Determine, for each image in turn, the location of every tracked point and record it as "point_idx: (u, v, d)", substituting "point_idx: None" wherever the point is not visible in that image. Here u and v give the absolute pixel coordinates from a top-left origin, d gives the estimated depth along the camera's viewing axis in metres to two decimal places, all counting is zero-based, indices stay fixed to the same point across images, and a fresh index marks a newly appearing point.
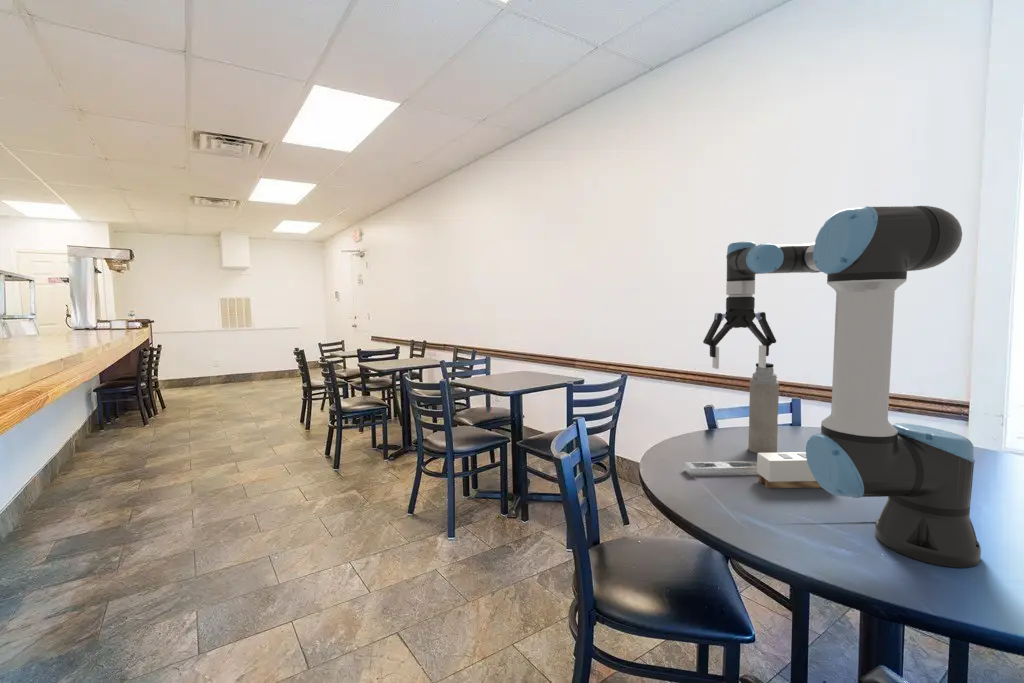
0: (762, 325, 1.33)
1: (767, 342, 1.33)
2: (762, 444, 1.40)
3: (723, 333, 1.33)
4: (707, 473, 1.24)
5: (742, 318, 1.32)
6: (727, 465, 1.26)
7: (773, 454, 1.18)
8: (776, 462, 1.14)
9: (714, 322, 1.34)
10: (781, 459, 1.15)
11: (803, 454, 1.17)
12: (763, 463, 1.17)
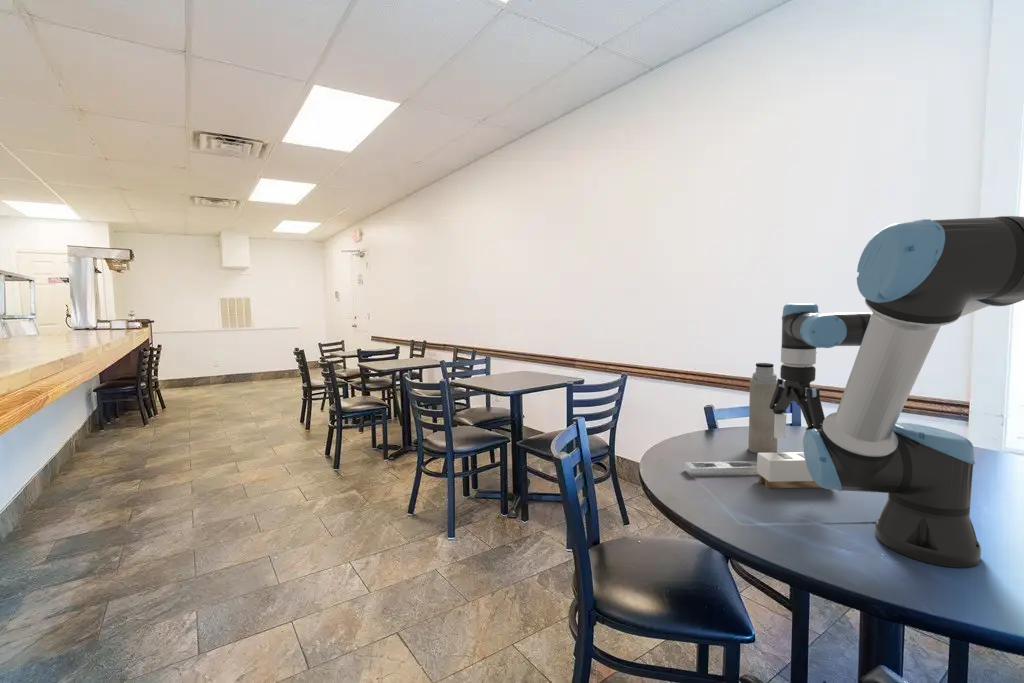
0: None
1: (809, 426, 1.08)
2: (762, 444, 1.40)
3: (780, 401, 1.21)
4: (707, 473, 1.24)
5: None
6: (727, 465, 1.26)
7: (773, 454, 1.18)
8: (776, 462, 1.14)
9: None
10: (781, 459, 1.15)
11: (803, 454, 1.17)
12: (763, 463, 1.17)
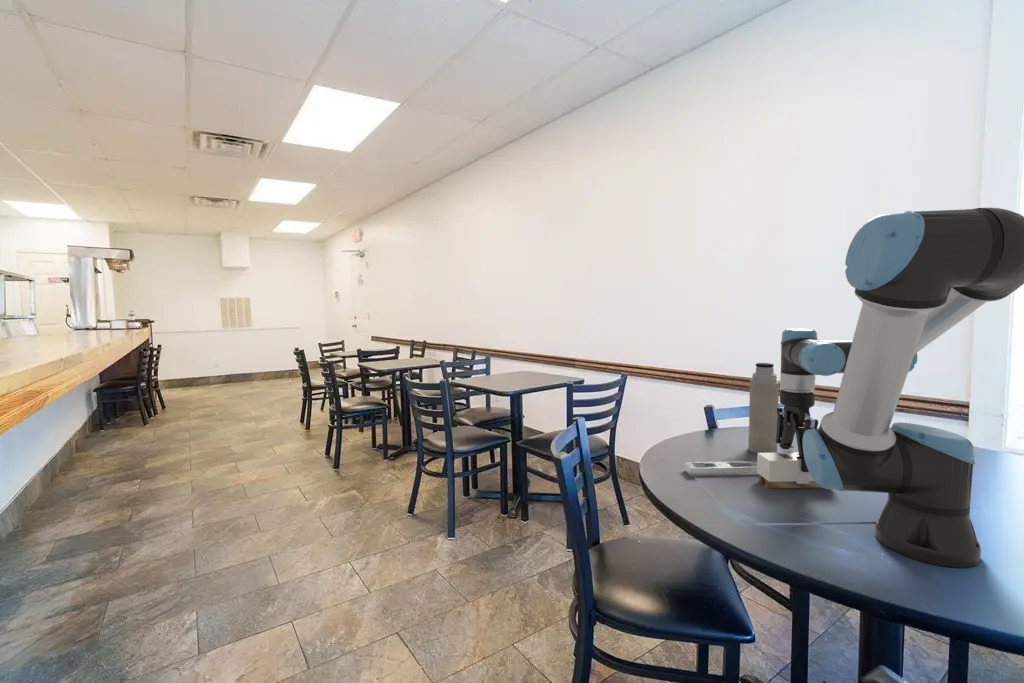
0: None
1: (800, 455, 1.12)
2: (762, 444, 1.40)
3: (783, 432, 1.19)
4: (707, 473, 1.24)
5: (792, 413, 1.15)
6: (727, 465, 1.26)
7: (773, 454, 1.18)
8: (776, 462, 1.14)
9: None
10: (781, 459, 1.15)
11: None
12: (763, 463, 1.17)
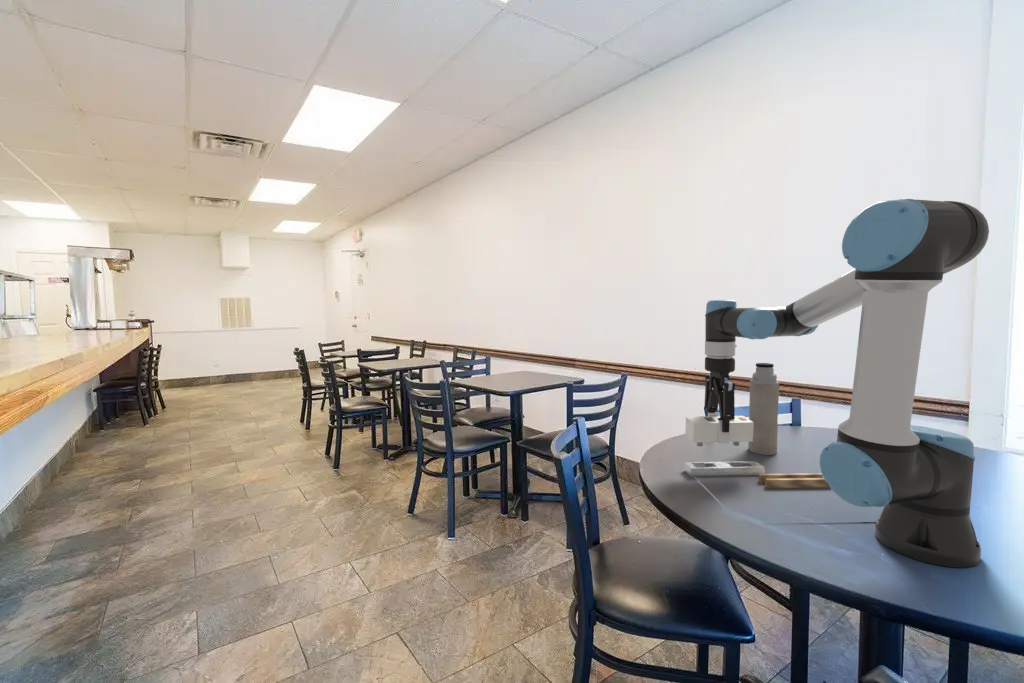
0: None
1: (721, 416, 1.21)
2: (762, 444, 1.40)
3: (709, 397, 1.28)
4: (707, 473, 1.24)
5: (715, 379, 1.24)
6: (727, 465, 1.26)
7: (699, 417, 1.27)
8: (700, 425, 1.23)
9: None
10: (705, 422, 1.23)
11: None
12: (689, 425, 1.26)
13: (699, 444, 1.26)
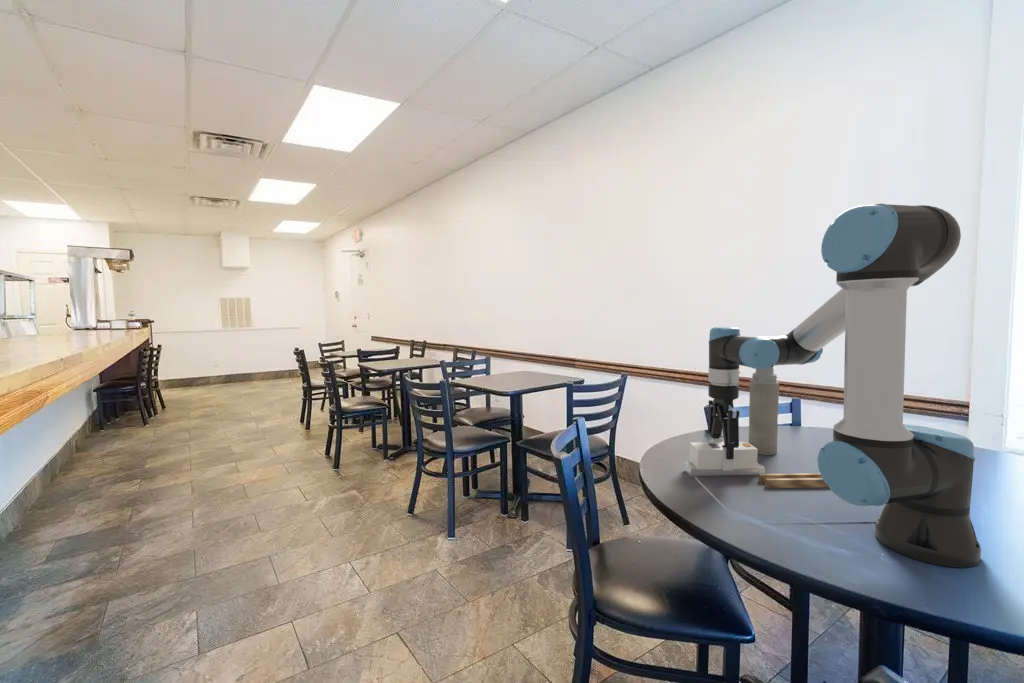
0: None
1: (725, 443, 1.21)
2: (762, 444, 1.40)
3: (713, 423, 1.29)
4: (707, 473, 1.24)
5: None
6: None
7: (703, 444, 1.27)
8: (704, 452, 1.23)
9: None
10: (709, 449, 1.24)
11: None
12: (693, 452, 1.26)
13: None
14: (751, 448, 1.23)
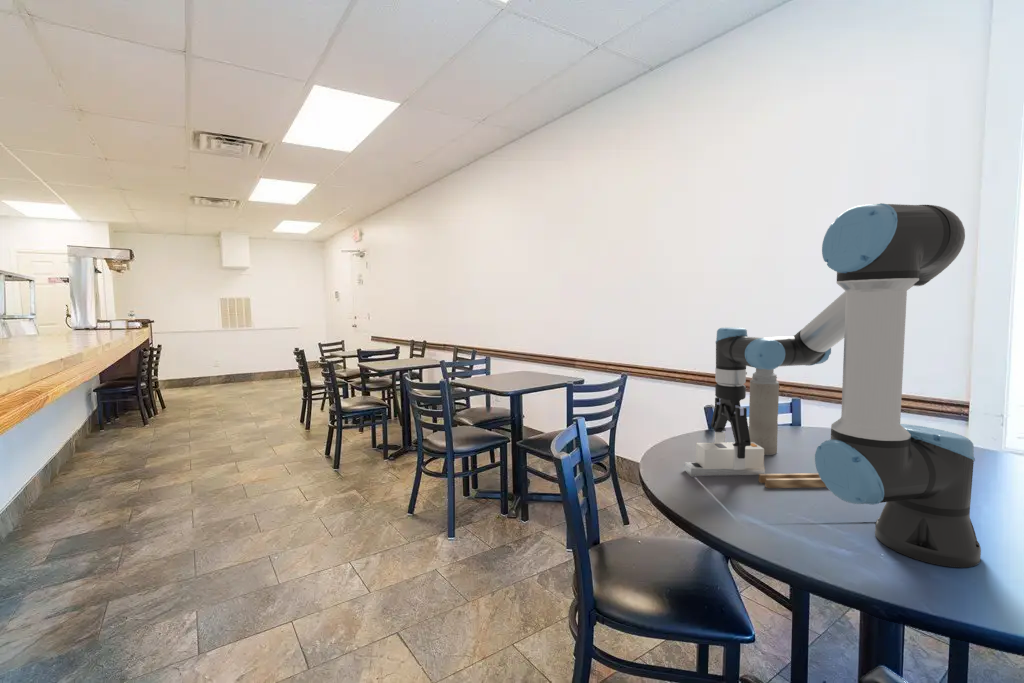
0: None
1: (736, 442, 1.19)
2: (762, 444, 1.40)
3: (718, 419, 1.30)
4: (707, 473, 1.24)
5: None
6: None
7: (710, 444, 1.28)
8: (711, 451, 1.23)
9: None
10: (715, 448, 1.24)
11: None
12: (700, 452, 1.26)
13: None
14: (758, 448, 1.23)
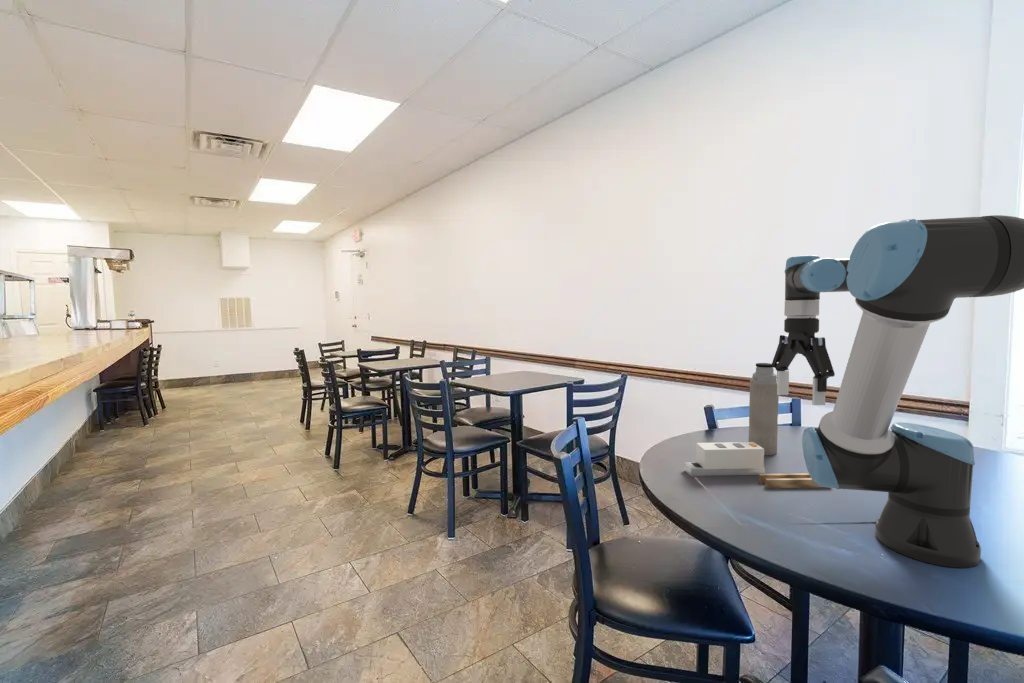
0: None
1: (816, 374, 1.09)
2: (762, 444, 1.40)
3: (783, 357, 1.22)
4: (707, 473, 1.24)
5: None
6: None
7: (710, 444, 1.28)
8: (711, 451, 1.23)
9: None
10: (715, 448, 1.24)
11: (737, 444, 1.27)
12: (700, 452, 1.26)
13: None
14: (758, 448, 1.23)
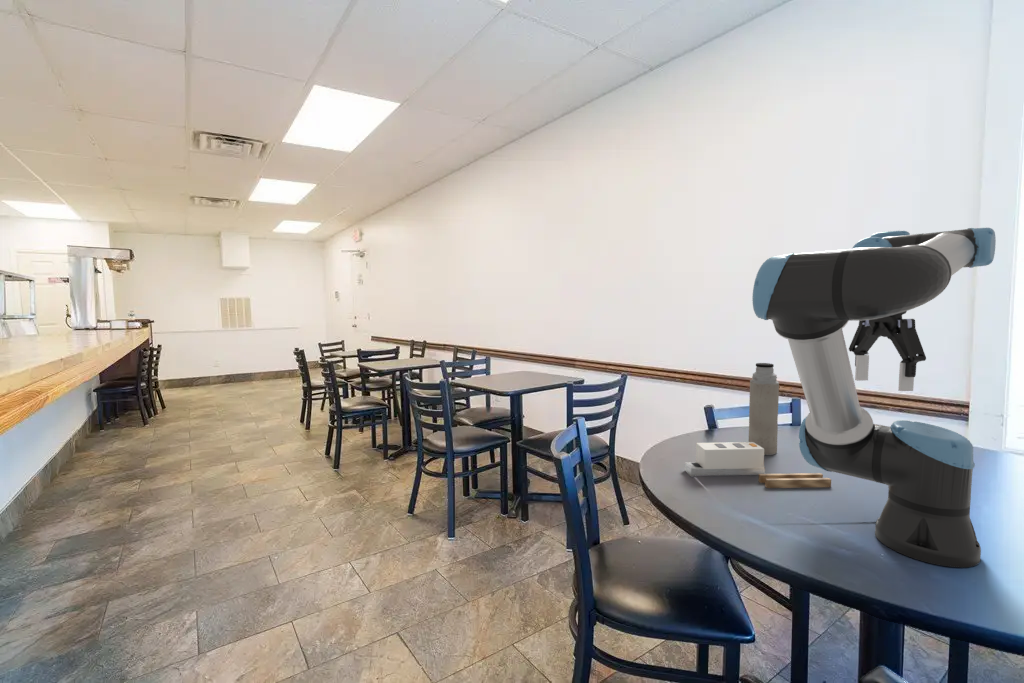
0: None
1: (904, 358, 1.02)
2: (762, 444, 1.40)
3: (863, 340, 1.15)
4: (707, 473, 1.24)
5: None
6: None
7: (710, 444, 1.28)
8: (711, 451, 1.23)
9: None
10: (715, 448, 1.24)
11: (737, 444, 1.27)
12: (700, 452, 1.26)
13: None
14: (758, 448, 1.23)
